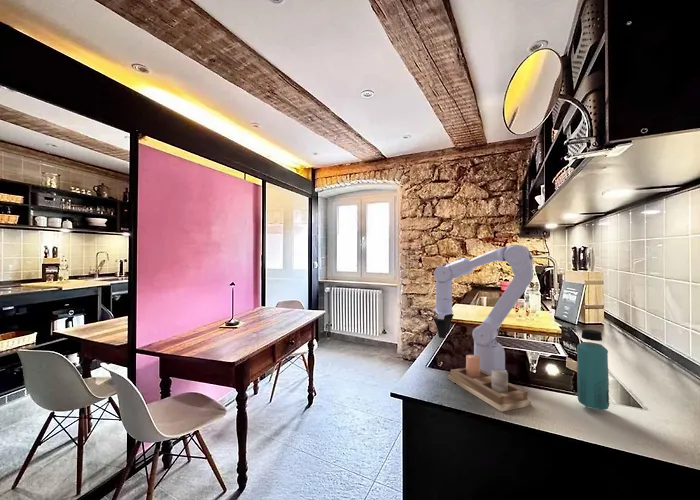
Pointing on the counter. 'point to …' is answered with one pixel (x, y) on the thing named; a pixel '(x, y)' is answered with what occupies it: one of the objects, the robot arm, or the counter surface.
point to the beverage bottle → (592, 372)
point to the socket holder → (492, 388)
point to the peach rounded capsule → (473, 366)
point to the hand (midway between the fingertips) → (443, 335)
